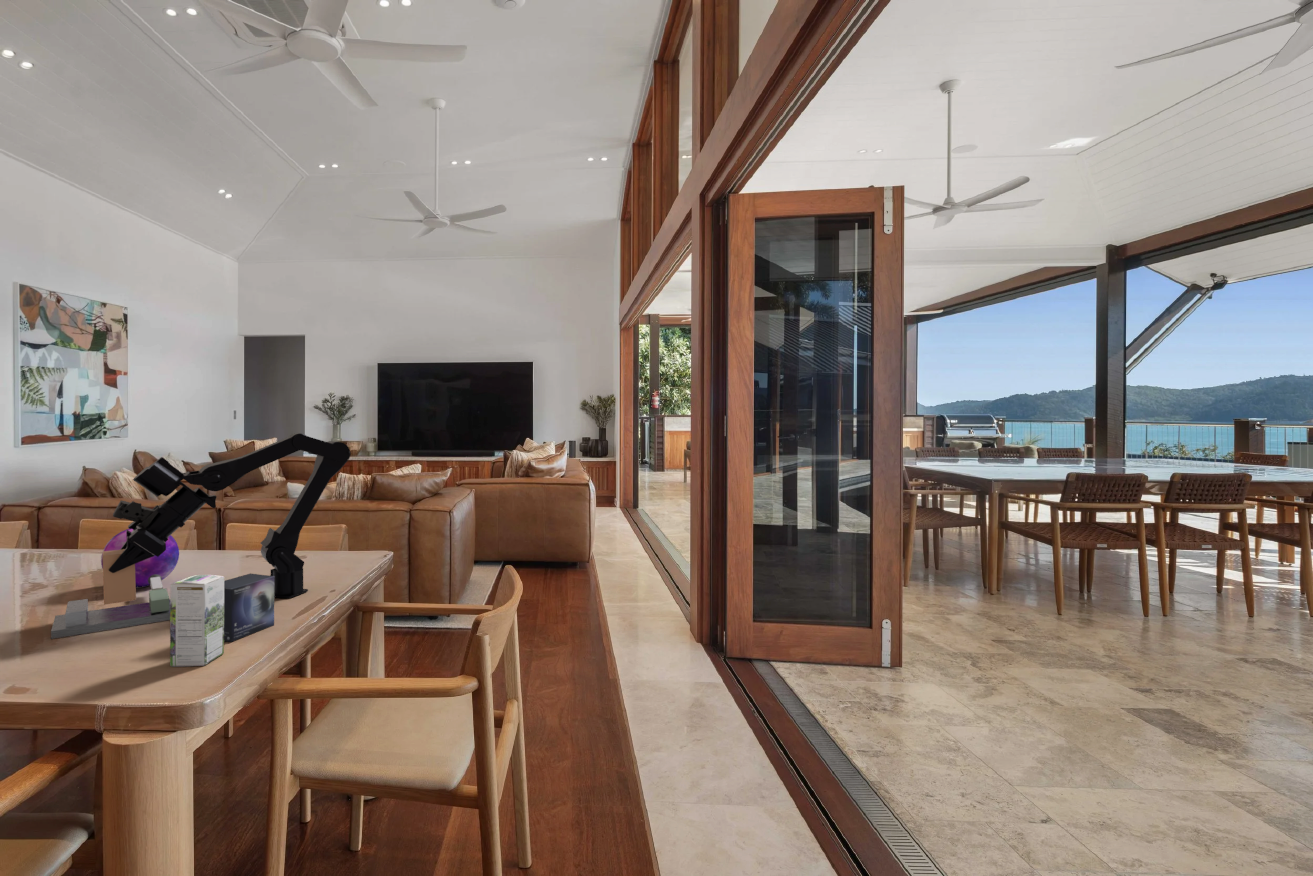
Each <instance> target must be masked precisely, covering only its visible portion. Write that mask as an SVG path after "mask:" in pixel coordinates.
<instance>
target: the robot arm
mask: <svg viewBox="0 0 1313 876" xmlns="http://www.w3.org/2000/svg"><path fill="white" fill-rule="evenodd" d="M299 451H302V452H306V453H308V454H312V455H315V456H316V458H315V461H314V465H313V470H312V473H311V474H310V476H309V478H308V479H307V481H306V483H305V485H304V486H303V488H302V490H301V492H300V493H299V495H298V497H297V498H296V500H295V502H294V503H293V505H292V506H291V508H290V510H289V512H288V514H287V515H286V517H285V518H284V520H283V522H282V523H281V525H280V526H279V527H277V528H276V529H273V528H271V527H270V528H269V529H268V531H267V533H266V535H265V537H264V539H262V541H261V542H260V545H261V548H260V553H261V554H260V555H261V556H262V558H263V559H264V560H265V561H266V562H267V563H268V564H269V565H271V566H272V569H270V574H269V576H275V577H274V598H279V599H280V598H281V599H292V598H294V597H297V596H298V595H301V594H302V595H303V594H304V593H306V592H308V591H309V589H308V588H304V565H305V561H304V560H302V559H301V557H299V556H298V555H296V554H295V552H296V549H297V546H298V543H299V538H300V533H301V531H302V529H303V527H304V525H305V524H306V522H307V520H308V519H309V517H310V515H311V513H312V512H313V510H314V508H315V507H316V505H317V503H318V501H319V499H320V498H321V496H322V494H323V493H324V491H325V489H326V487H327V486H328V484H329V482H330V480H331V479H332V478H333V477H334V476H335V475H337V474H338V472H339V471H341V469H342V468H343V467H344V466H345V465H346V463H347V462H348V461H349V460H350V457H351V450H350V447H349V446H348V444H346V443H344V442H341V441H335V440H329V441H324V440H321V439H319V438H318V439H317V438H315V437H311V436H307V435H306V434H304V433H299V432H296V433H291V435H289V436H288V437H285V438H282V439H280V440H278V441H276V442H273V443H269V444H268V445H266V446H263V447H261V448H259V449H256V450H253V451H252V452H251V451H250V452H249V453H247V454H244V455H242V456H239V457H235V458H230V459H226V460H221V461H217V462H213V463H209V464H206V465H203V466H202V467H201V468H200V469H199V470H194V471H186V472H182V471H180V470H179V469H177V467H175V466H173V465H172V464H171V463H170V462H169V461H168V460H167V459H166V458H165V457H159V458H158V459H157V460H155V461H154V462H152V463H151V464H150V465H149V466H146V467H144V468H143V469H142V470H141V471H140V472H139V473H138V474H137V475H136V476H135V477H133V479H132V480H133V481H134V482H135V483H136V484H138V485H140V486H141V487H142V488H144V489H145V490H147V491H148V492H149V493H151V494H152V495H154V496H155V497H157V498H158V497H161V495H162V496H163V497H168V496H169V495H171V494H172V495H171V496H170V497H168V498H167V499H166V500H165V501H164V502H163V503H162V504H159V505H158V504H157V505H155V506H154V507H153V508H150V507H146V506H143V505H142V503H141V502H136V501H134V500H133V501H131V502H129V501H126V500H122V499H121V500H120V501H119V502H118V504H117V506H116V508H115V510H114V511H113V513H112V517H114V518H116V519H120V520H121V519H123V520H127V521H131V523H129V525H128V526H127V529H133V531H132V532H130V531H128V530H127V531H126V537H127V540H126V542H125V544H124V545H123V546H122V548H121V549H120V550H122V549H125V550H124V551H123V552H122V554H121V555H120V556H119V557H118V558H117V560H116V561H115V562H114V563H113V564H112V566H111V567H110V568H109V571H110V572H112V573H115V572H117V571H119V570H122V569H124V568H126V567H129V566H131V565H133V564H136V563H138V562H141V561H143V560H146V559H148V558H150V557H154V556H157V557H159V556H160V555H161V554H162V553H163V552H164V551H165V550H166V543H165V542H166V541H167V540H168V537H169V536H170V535H171V536H172V535H173V534H174V532H176V531H177V530H178V529H179V528H183V526H185V525H186V524H185V523H186V522H187V521H188V520H189V519H190V518H192V517H193V516H194V515H195V514H196V513H197V512H198V511H199V510H200V509H202V507H204V506H205V505H208V506H209V507H210V508H212V509H216V508H217V505H216V503H217V502H216V501H217V500H216V499H217V496H216V495H215V494H211V495H209V494H208V493H207V492H205V491H204V490H202V489H201V488H200V487H196V488H195V489H193V488H191V487H189V486H188V485H187V484H185V483H184V482H183V480H185V481H186V483H188V484H189V485H192V486H193V485H194V486H201V487H203V488H204V489H205V490H207V491H210V492H220V491H223V490H225V489H226V488H228V487H230V486H231V485H233V484H235V483H236V482H237V481H239V480H240V479H242V478H243V477H245V475H247V474H249V473H250V472H253V471H254V470H257V469H259V468H262V467H264V466H266V465H269V464H271V463H273V462H276V461H278V460H280V459H282V458H285V457H287V456H289V455H293V454H294V453H297V452H299ZM180 486H182V487H180ZM179 487H180V488H179ZM176 489H178V490H177V491H176ZM174 491H176V492H174Z"/></svg>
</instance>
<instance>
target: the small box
mask: <svg viewBox="0 0 1313 876" xmlns="http://www.w3.org/2000/svg"><path fill="white" fill-rule="evenodd" d="M274 577H275V576H270V575H268V574H267V575H265V574H259V573H258V574H257V573H251V572H250V573H247V574H243V575H239V576H237V577H233V578H229V579H226V580H225V579H224V642H228V643H233V642H235V641H238V640H240V639H242V638H246V637H248V636H250V635H252V634H253V635H254V634H256V633H257V632H260V631H263V630H265V629H268V628H270V627H273V626H275V597H274Z"/></svg>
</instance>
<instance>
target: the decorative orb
mask: <svg viewBox="0 0 1313 876" xmlns="http://www.w3.org/2000/svg"><path fill="white" fill-rule="evenodd" d="M127 530H128V531H130V532H132V531H133V529H129V528H127V529H124V530H122V531H120V532H118V533H117V534H115V535H114V536H112V538H111V539H110V540H108V541H107V543H106V545H105V546H104V547H103V549H102V553H101V556H100V559H101V560H100V563H101V568H102V569H103V551H113V550H120V549H121V548H122V546H123V545H124V544H125V542H126V540H127V537H126V531H127ZM165 543H166V550H165V551H164V552H163V553H162V554H161V555H160V556H159V557H157V556H154V557H150V558H148V559H146V560H143V561H141V562H138V563H136V564H135V582H136V588H145V587H151V586H150V584H149V583H148V578H149V577H150V576H151V575H154V574H158V575H160V576H161V577H162V581H163V580H164V579H166V578H168V576H169V575H171V573H172V572H173V570H175V568H176V566H177V565H178V561H179V558H180V550H179V545H178V543H177V541H176V540H175V538H174V537H173V535H172V534H171V535H170V536H169V537H168V540H167V541H166V542H165Z"/></svg>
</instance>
